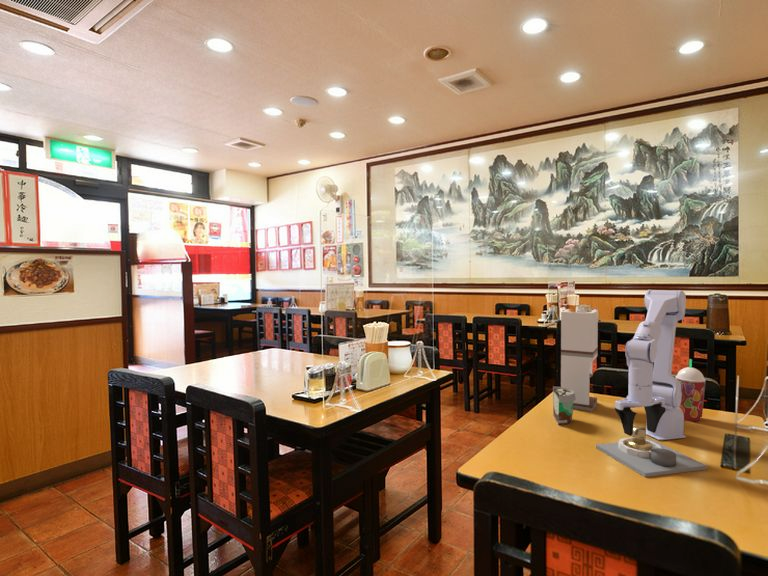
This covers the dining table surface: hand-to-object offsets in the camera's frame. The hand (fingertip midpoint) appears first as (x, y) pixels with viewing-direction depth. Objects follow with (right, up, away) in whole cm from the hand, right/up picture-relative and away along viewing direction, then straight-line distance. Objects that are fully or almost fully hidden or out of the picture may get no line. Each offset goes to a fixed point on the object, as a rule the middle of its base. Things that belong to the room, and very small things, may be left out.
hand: (639, 432), depth 122 cm
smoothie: (+32, -4, +27) cm, 43 cm away
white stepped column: (+2, -4, +44) cm, 44 cm away
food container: (-9, -5, +27) cm, 29 cm away
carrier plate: (+1, -6, -3) cm, 7 cm away
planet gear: (0, -5, +1) cm, 5 cm away
